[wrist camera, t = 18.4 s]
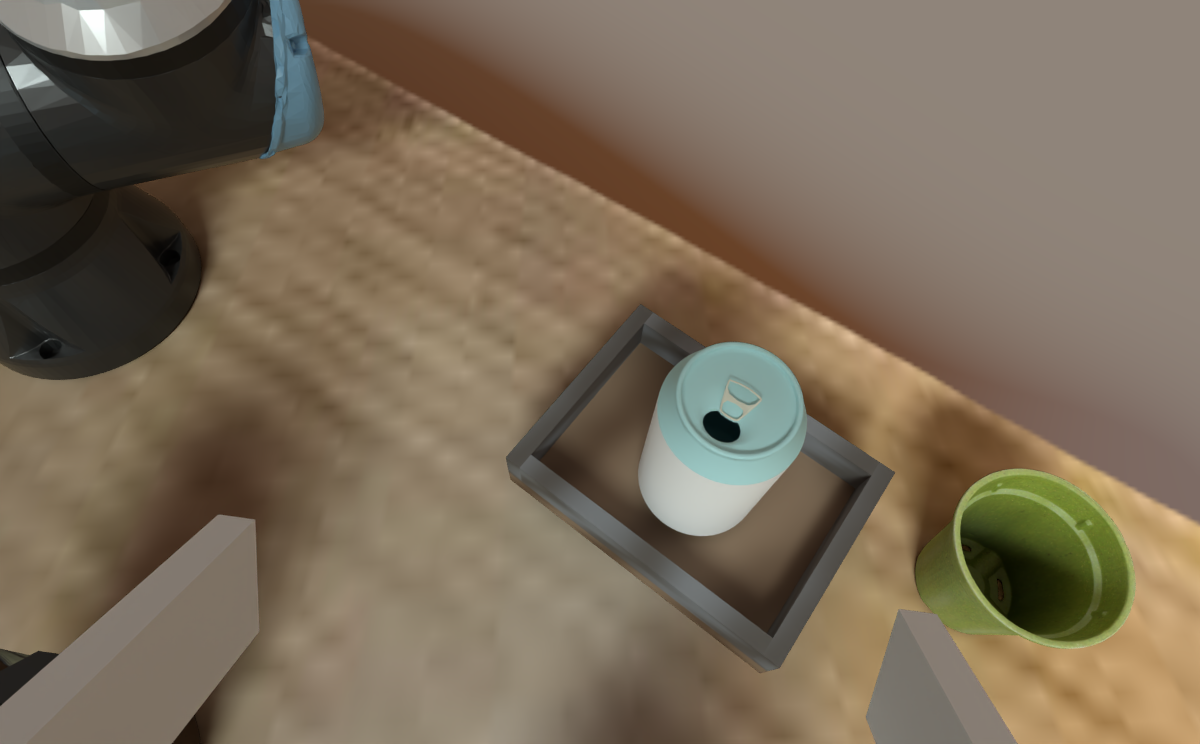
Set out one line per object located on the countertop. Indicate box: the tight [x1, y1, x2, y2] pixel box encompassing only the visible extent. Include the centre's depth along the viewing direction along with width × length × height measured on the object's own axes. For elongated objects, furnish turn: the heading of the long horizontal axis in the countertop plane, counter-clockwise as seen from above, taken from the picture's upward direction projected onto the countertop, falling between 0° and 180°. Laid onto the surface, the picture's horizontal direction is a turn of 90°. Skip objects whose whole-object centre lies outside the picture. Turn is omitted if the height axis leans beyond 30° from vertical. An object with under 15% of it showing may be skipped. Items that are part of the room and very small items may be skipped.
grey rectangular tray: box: [506, 304, 895, 673], centre depth 43 cm, size 18×13×7 cm
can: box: [638, 342, 807, 536], centre depth 37 cm, size 7×7×12 cm
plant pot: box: [915, 469, 1136, 649], centre depth 41 cm, size 9×9×9 cm
